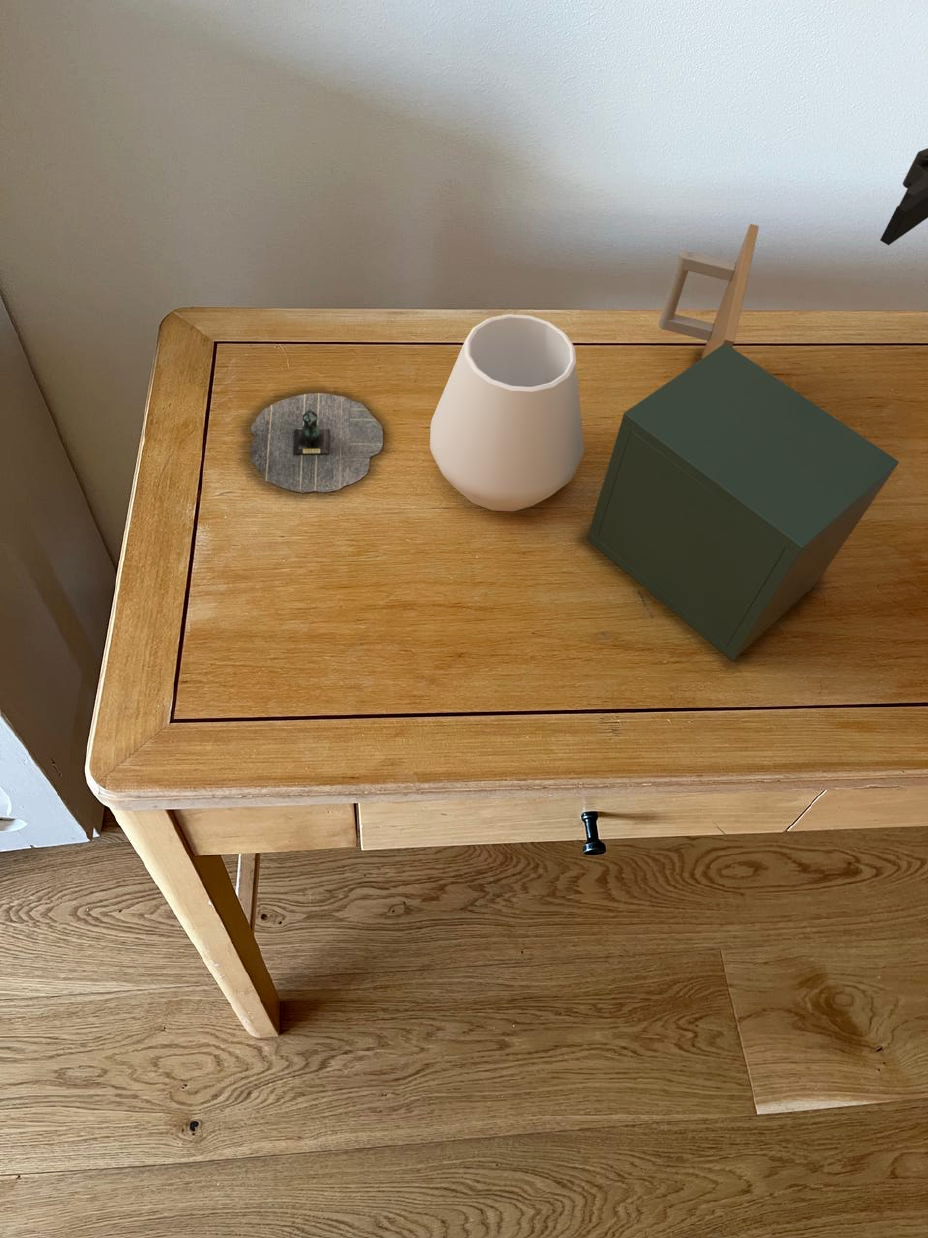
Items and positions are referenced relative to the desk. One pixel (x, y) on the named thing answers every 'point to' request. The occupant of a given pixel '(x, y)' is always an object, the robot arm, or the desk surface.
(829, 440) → the cabinet
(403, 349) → the desk surface
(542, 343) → the white tapered cylinder
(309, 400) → the sculpture
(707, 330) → the cabinet door
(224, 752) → the desk surface
